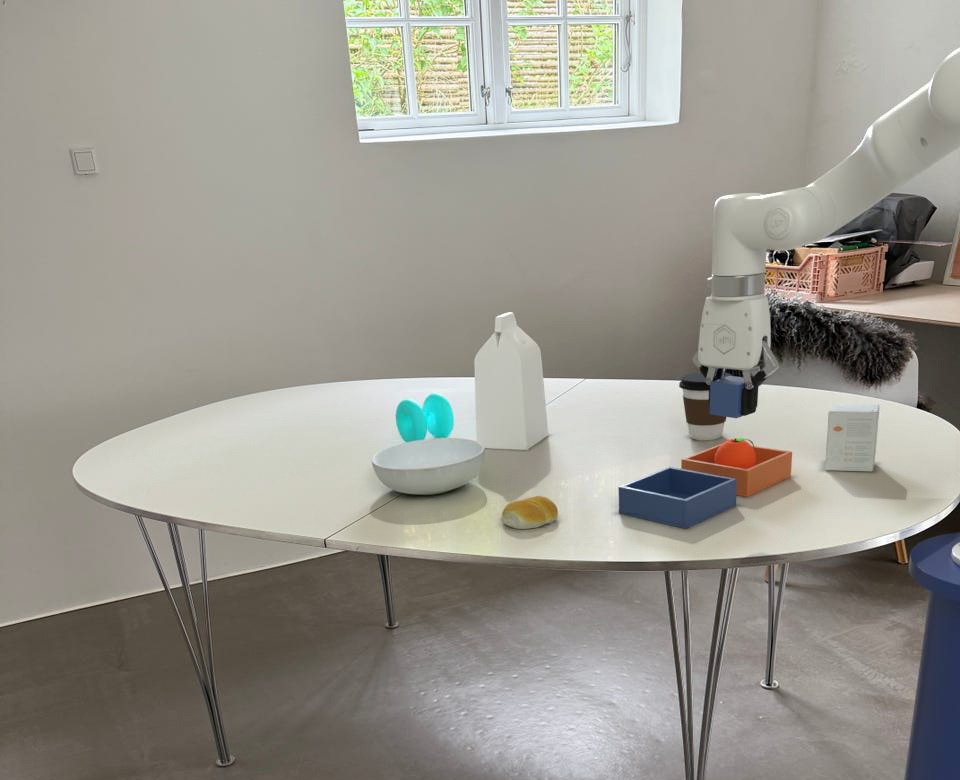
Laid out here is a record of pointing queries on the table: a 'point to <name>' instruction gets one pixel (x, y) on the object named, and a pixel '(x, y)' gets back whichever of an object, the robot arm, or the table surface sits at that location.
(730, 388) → the blue block
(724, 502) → the blue bin
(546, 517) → the bread roll
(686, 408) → the coffee cup
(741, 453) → the clementine
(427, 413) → the cyan plastic rounded piece
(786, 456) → the terracotta bin
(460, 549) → the table surface
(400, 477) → the serving bowl
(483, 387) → the milk
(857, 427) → the small box
